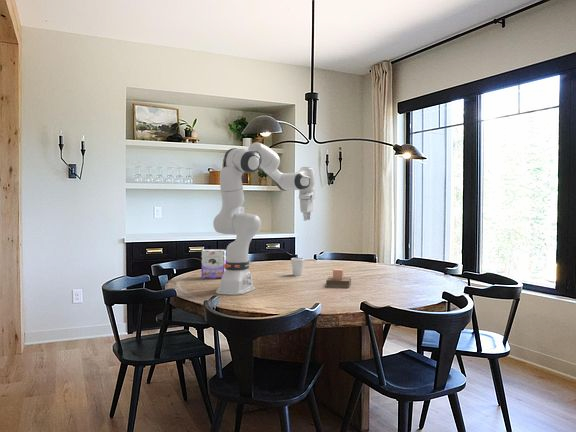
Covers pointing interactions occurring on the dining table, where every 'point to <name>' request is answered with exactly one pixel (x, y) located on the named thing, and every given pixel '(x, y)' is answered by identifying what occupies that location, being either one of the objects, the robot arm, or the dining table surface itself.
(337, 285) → the walnut block
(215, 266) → the candy box
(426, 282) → the dining table surface
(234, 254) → the robot arm
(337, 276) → the terracotta cube
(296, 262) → the dixie cup
